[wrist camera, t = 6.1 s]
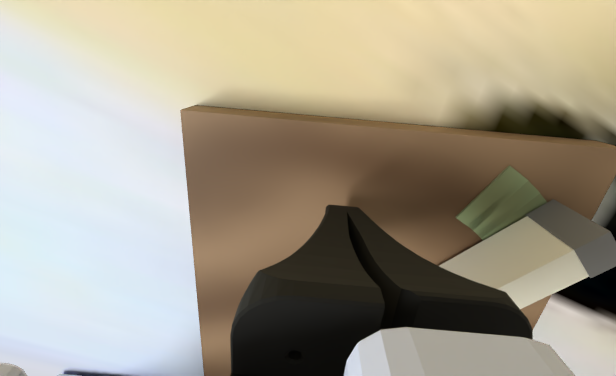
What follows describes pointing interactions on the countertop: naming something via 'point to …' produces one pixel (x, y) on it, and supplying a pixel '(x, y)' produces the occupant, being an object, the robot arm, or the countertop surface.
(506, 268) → the dial lever
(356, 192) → the dial board
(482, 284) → the robot arm
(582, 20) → the countertop surface
